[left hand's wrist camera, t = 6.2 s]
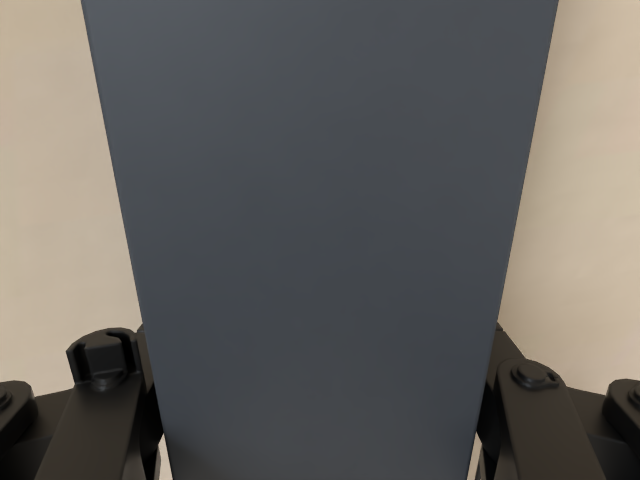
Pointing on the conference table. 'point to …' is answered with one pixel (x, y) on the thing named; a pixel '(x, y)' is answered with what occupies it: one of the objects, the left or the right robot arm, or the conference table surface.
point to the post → (319, 220)
